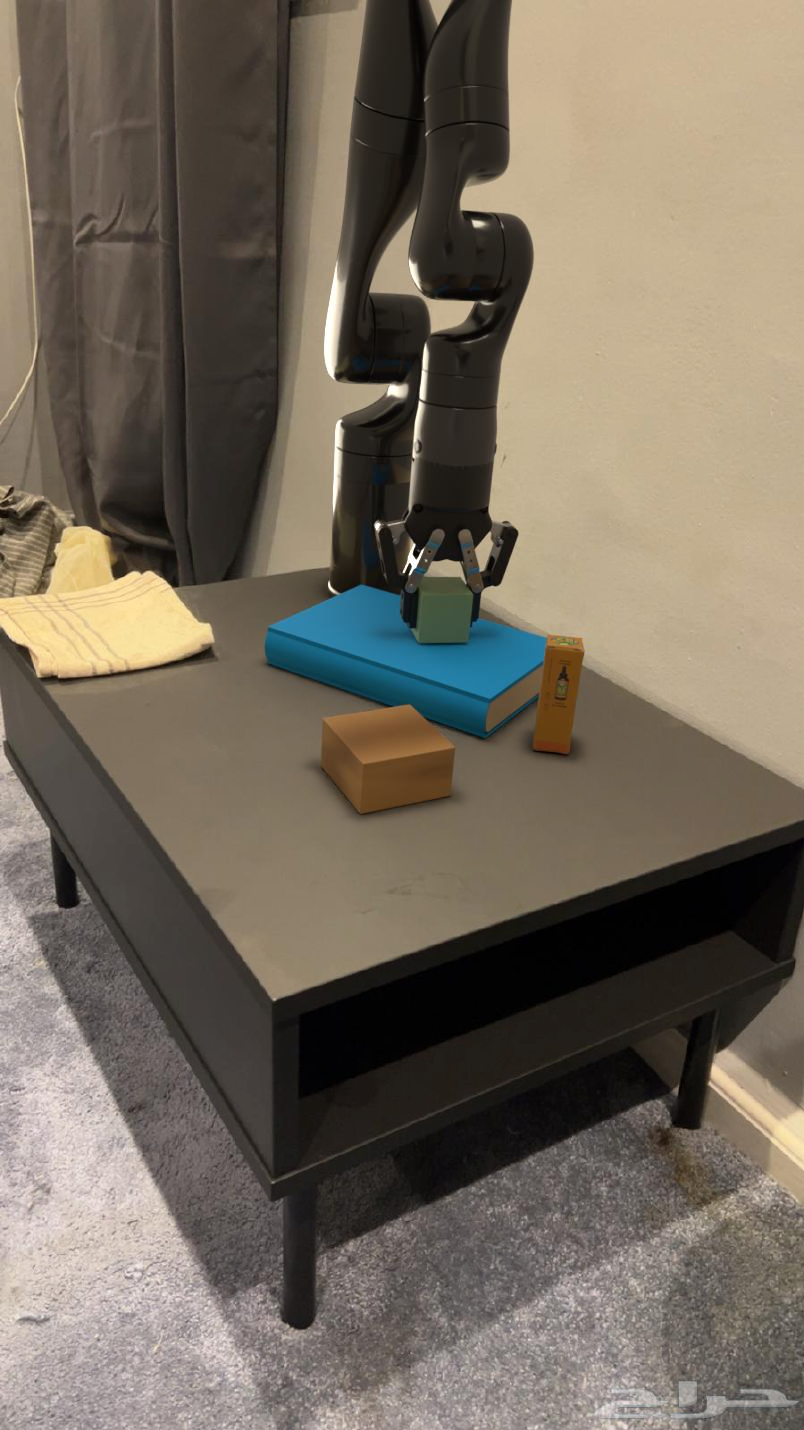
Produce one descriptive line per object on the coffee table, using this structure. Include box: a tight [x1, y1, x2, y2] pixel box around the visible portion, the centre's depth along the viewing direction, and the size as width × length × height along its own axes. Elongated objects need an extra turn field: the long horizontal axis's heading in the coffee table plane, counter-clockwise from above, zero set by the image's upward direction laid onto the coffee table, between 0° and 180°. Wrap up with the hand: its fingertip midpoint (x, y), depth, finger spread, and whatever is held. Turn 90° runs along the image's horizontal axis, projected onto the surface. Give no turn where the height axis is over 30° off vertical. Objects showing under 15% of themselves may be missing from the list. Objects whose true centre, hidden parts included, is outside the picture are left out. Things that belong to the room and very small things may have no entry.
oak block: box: [320, 704, 456, 815], centre depth 85 cm, size 8×8×4 cm
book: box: [264, 585, 547, 739], centre depth 105 cm, size 17×4×25 cm
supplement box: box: [532, 634, 586, 755], centre depth 91 cm, size 3×4×10 cm
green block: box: [411, 576, 473, 643], centre depth 103 cm, size 5×5×5 cm
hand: (438, 624), depth 104 cm, fingers closed on green block, 5 cm apart
